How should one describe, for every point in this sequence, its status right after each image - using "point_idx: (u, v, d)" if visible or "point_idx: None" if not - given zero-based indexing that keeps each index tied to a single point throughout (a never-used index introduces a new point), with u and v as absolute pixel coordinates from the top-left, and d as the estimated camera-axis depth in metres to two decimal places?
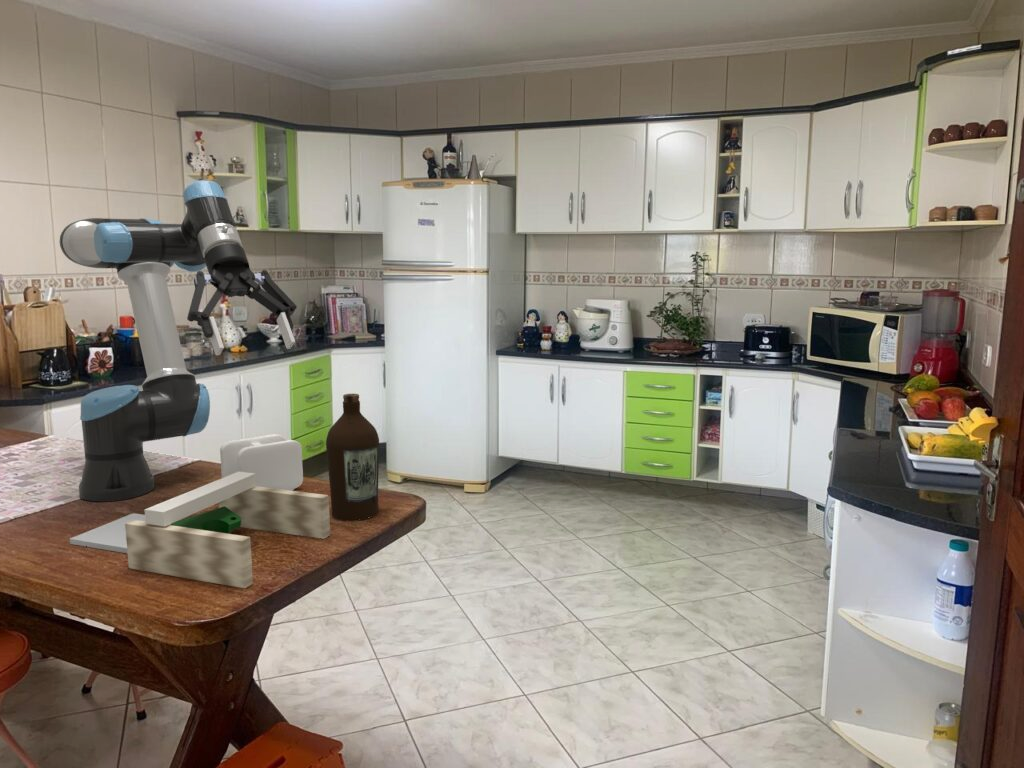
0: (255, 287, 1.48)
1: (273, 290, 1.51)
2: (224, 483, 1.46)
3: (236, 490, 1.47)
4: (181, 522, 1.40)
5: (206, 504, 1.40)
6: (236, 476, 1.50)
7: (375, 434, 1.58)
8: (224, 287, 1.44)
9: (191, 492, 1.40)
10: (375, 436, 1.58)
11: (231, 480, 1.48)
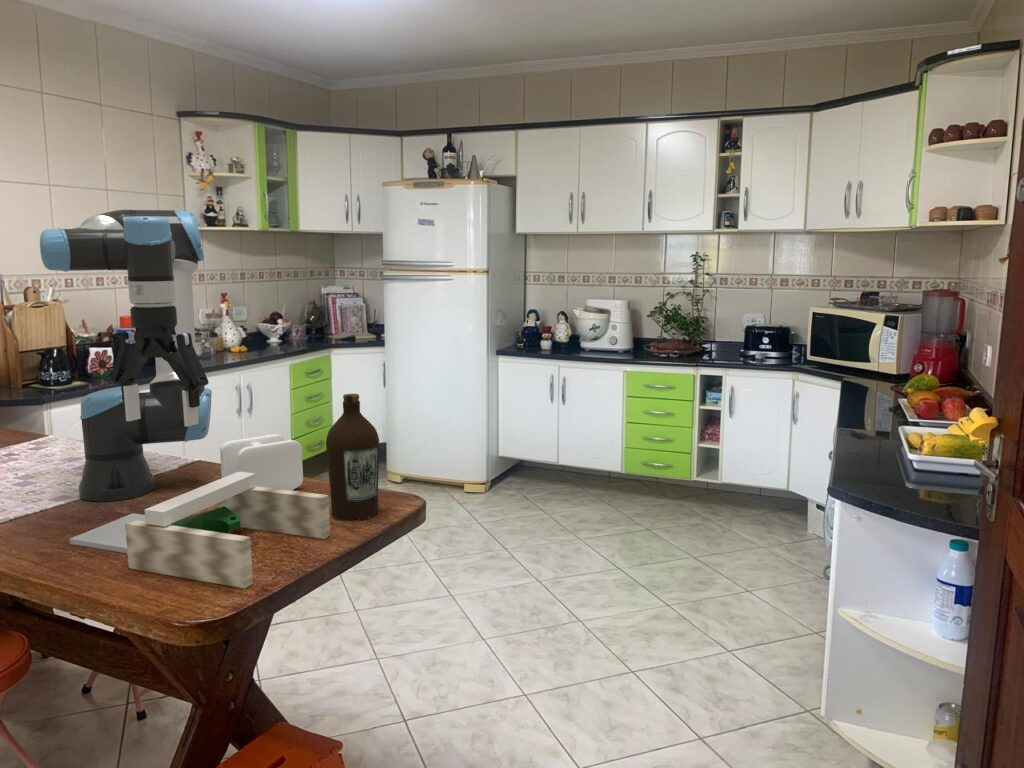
0: (162, 357, 1.38)
1: None
2: (224, 483, 1.46)
3: (236, 490, 1.47)
4: (181, 522, 1.40)
5: (206, 504, 1.40)
6: (236, 476, 1.50)
7: (375, 434, 1.58)
8: (137, 355, 1.40)
9: (191, 492, 1.40)
10: (375, 436, 1.58)
11: (231, 480, 1.48)
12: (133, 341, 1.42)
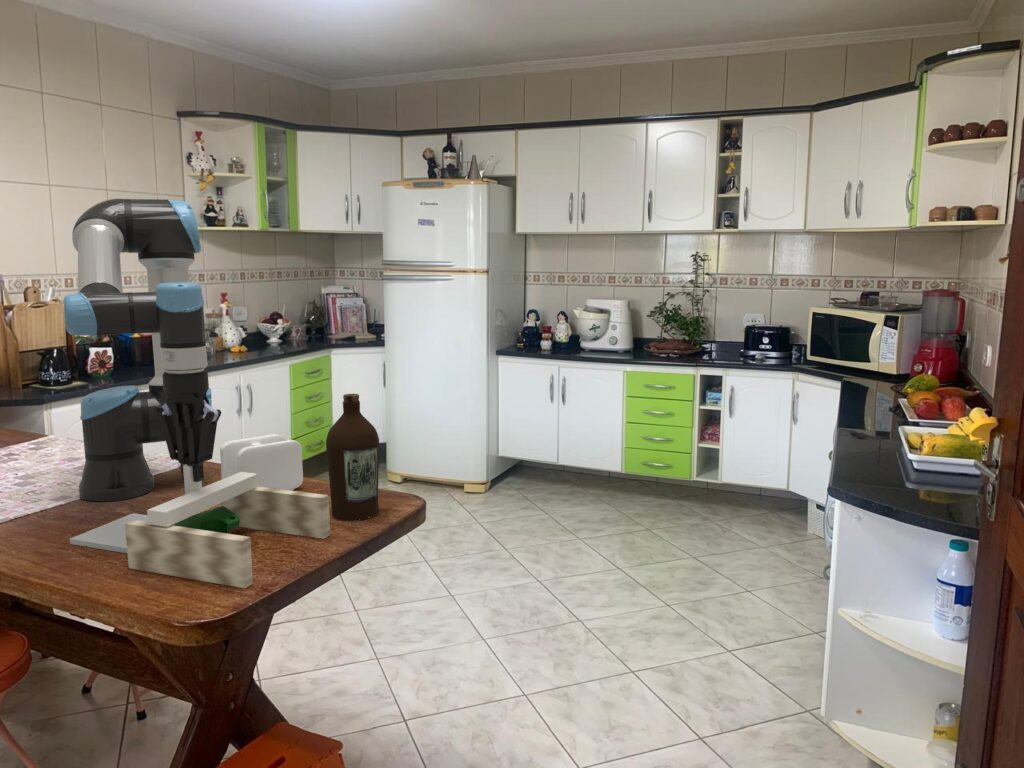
0: (185, 424, 1.38)
1: None
2: (227, 483, 1.46)
3: (239, 490, 1.47)
4: (180, 522, 1.40)
5: (209, 504, 1.39)
6: (239, 476, 1.50)
7: (375, 434, 1.58)
8: (177, 423, 1.39)
9: (193, 492, 1.40)
10: (375, 436, 1.58)
11: (233, 480, 1.47)
12: (169, 411, 1.41)
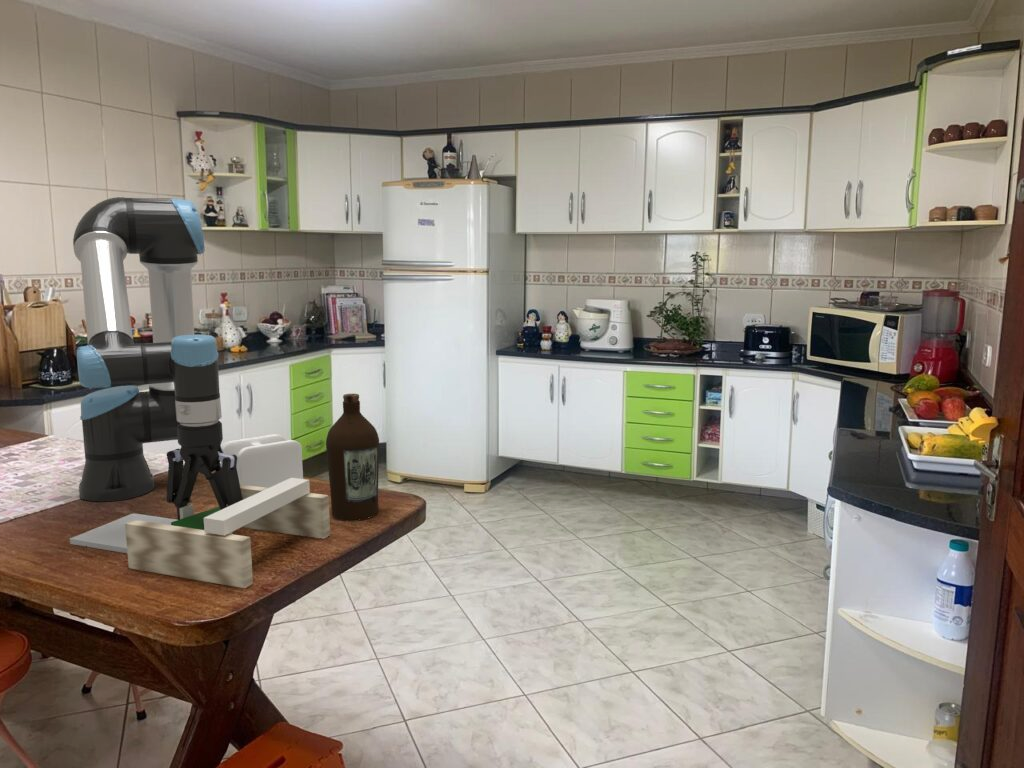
0: (205, 476, 1.39)
1: None
2: (279, 489, 1.42)
3: (291, 497, 1.43)
4: (181, 521, 1.40)
5: (263, 512, 1.36)
6: (290, 482, 1.46)
7: (375, 434, 1.58)
8: (186, 473, 1.40)
9: (247, 499, 1.36)
10: (375, 436, 1.58)
11: (286, 487, 1.44)
12: (180, 458, 1.42)
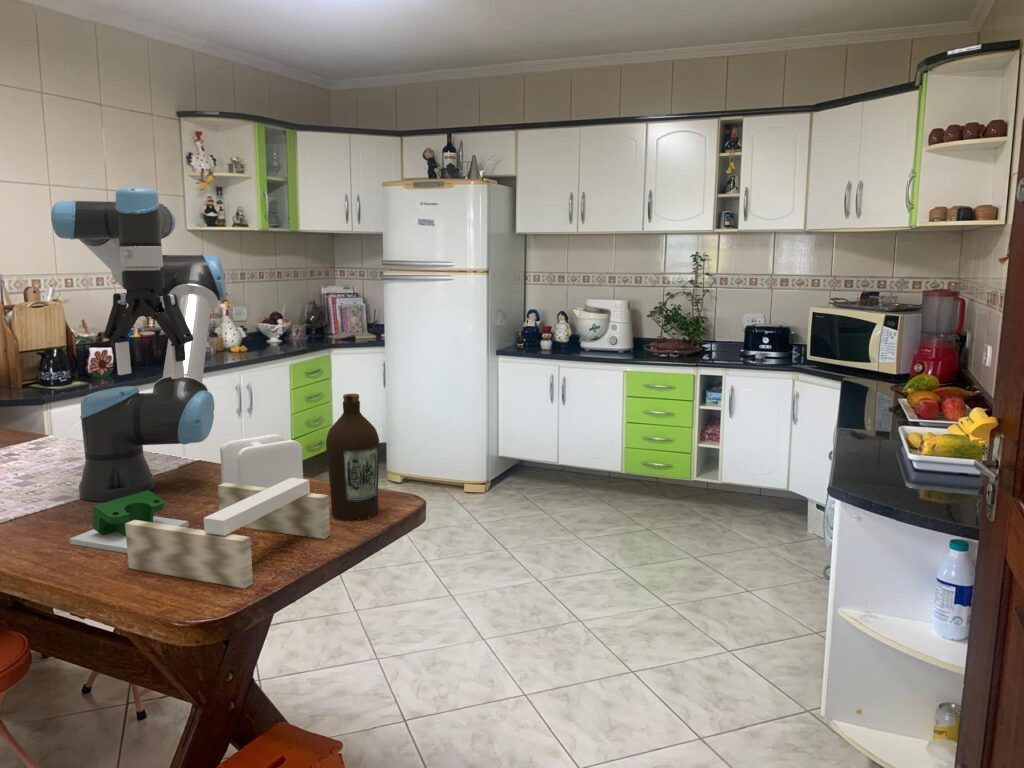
0: (151, 316, 1.52)
1: None
2: (279, 489, 1.42)
3: (291, 497, 1.43)
4: (104, 505, 1.46)
5: (263, 512, 1.36)
6: (290, 482, 1.46)
7: (375, 434, 1.58)
8: (128, 314, 1.54)
9: (247, 499, 1.36)
10: (375, 436, 1.58)
11: (286, 487, 1.44)
12: (125, 302, 1.56)
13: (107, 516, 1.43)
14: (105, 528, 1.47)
